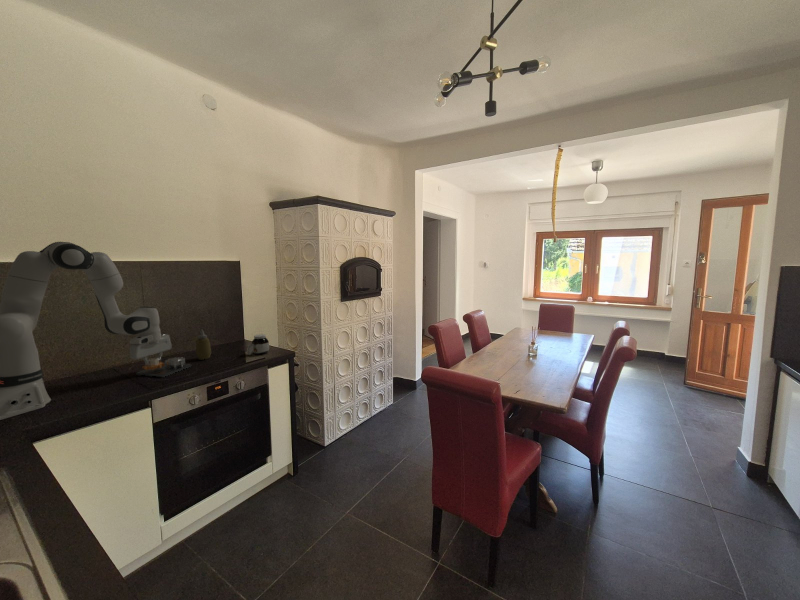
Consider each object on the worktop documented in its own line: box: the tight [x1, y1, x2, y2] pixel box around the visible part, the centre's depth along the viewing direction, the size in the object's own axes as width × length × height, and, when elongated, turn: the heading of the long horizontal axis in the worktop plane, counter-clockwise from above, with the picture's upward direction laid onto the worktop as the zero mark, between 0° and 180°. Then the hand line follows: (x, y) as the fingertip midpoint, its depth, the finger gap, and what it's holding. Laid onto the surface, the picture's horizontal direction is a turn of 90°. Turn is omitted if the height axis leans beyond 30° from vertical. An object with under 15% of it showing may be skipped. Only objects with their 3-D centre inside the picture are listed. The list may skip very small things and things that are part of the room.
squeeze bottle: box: [195, 328, 212, 361], centre depth 195 cm, size 8×8×18 cm
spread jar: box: [246, 333, 270, 356], centre depth 205 cm, size 12×11×12 cm
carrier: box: [136, 356, 192, 378], centre depth 174 cm, size 17×17×6 cm
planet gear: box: [142, 357, 165, 370], centre depth 171 cm, size 9×9×4 cm
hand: (153, 362), depth 171 cm, fingers closed on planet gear, 5 cm apart
